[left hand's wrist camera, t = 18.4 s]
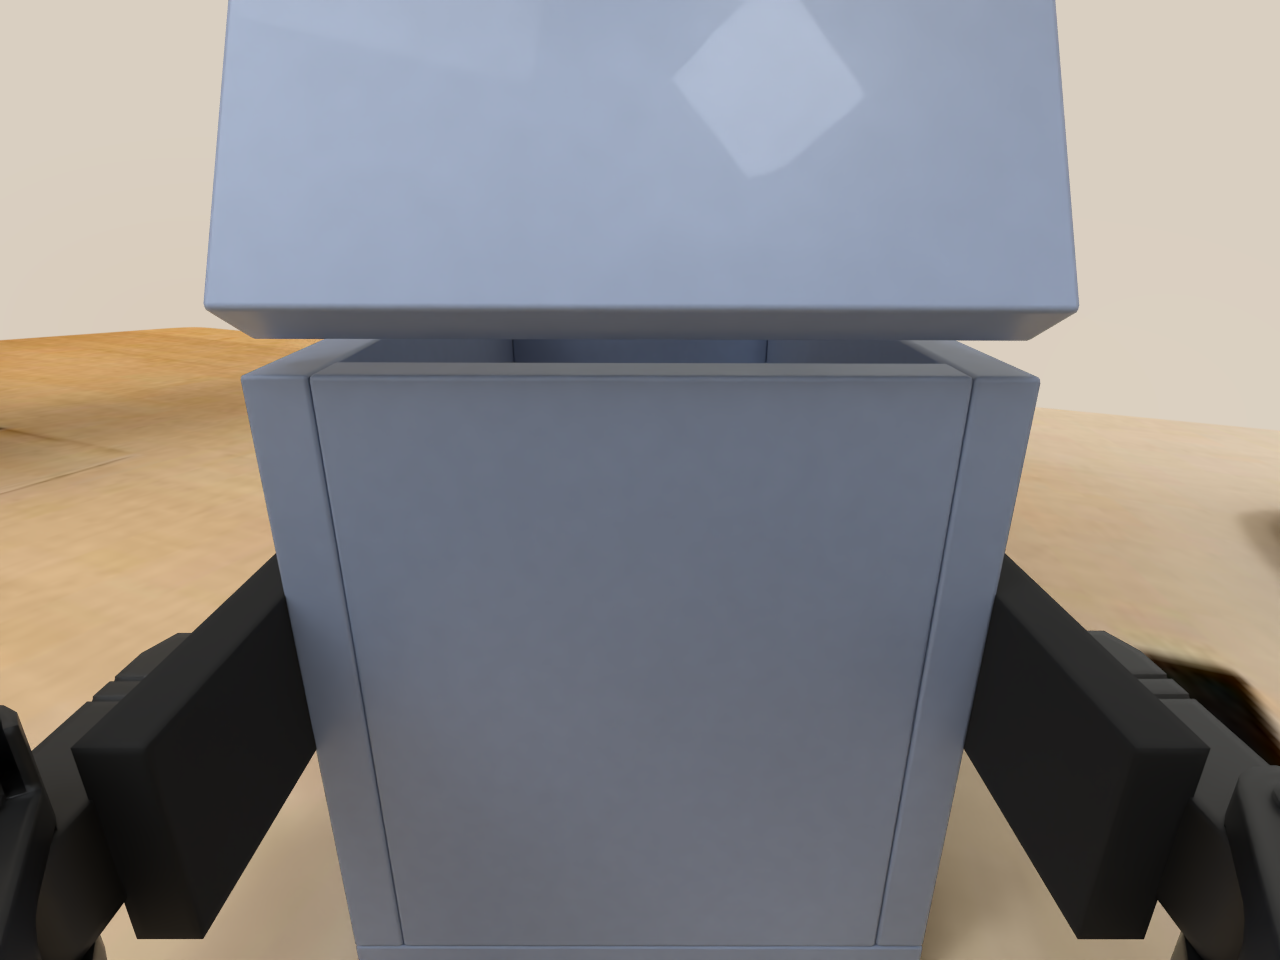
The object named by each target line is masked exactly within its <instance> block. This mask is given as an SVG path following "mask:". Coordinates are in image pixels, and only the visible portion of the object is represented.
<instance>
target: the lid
mask: <svg viewBox="0 0 1280 960" xmlns="http://www.w3.org/2000/svg"><path fill="white" fill-rule="evenodd" d="M204 306H205V309H206V310H207V311H209V312H211V313H212V314H214V315H215V316H217V317H219V318H220V319H222V320H224V321H225V322H227V323H229V324H230V325H232V326H234V327H235V328H237V329H239V330H240V331H242V332H244V333H245V334H247V335H249V336H250V337H252V338H255V339H596V340H1008V341H1027V340H1030V339H1032V338H1034V337H1035V336H1037V335H1039V334H1040V333H1042V332H1044V331H1045V330H1047V329H1049V328H1050V327H1052V326H1054V325H1056V324H1057V323H1059V322H1061V321H1062V320H1064V319H1066V318H1067V317H1069V316H1071V315H1072V314H1074V313H1076V312H1077V310H1078V307H1079V298H1078V286H1077V273H1076V260H1075V247H1074V235H1073V222H1072V209H1071V196H1070V184H1069V171H1068V158H1067V145H1066V132H1065V119H1064V107H1063V94H1062V81H1061V68H1060V56H1059V43H1058V30H1057V17H1056V4H1055V0H229V1H228V13H227V25H226V37H225V50H224V61H223V74H222V86H221V98H220V110H219V122H218V135H217V147H216V159H215V171H214V183H213V196H212V208H211V220H210V233H209V244H208V257H207V269H206V281H205V293H204Z"/></svg>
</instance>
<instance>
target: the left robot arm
mask: <svg viewBox="0 0 1280 960" xmlns="http://www.w3.org/2000/svg"><path fill="white" fill-rule="evenodd" d="M316 749H317V748H316V743H315V738H314V734H313V729H312V724H311V719H310V714H309V709H308V704H307V700H306V695H305V690H304V685H303V680H302V675H301V670H300V665H299V661H298V656H297V651H296V646H295V641H294V636H293V631H292V627H291V622H290V617H289V612H288V607H287V602H286V597H285V594H284V589H283V584H282V580H281V575H280V570H279V565H278V560H277V555H276V554H275V555H274V556H273V557H272V558H270V559H269V560H268V561H267V562H266V563H265V564H264V565H263V566H262V567H261V568H260V569H259V570H258V571H257V572H256V573H255V574H254V575H253V576H251V577H250V578H249V579H248V580H247V581H246V582H245V583H244V584H243V585H242V586H241V587H240V588H239V589H238V590H237V591H236V592H235V593H234V594H232V595H231V596H230V597H229V598H228V599H227V600H226V601H225V602H224V603H223V604H222V605H221V606H220V607H219V608H218V609H217V610H216V611H215V612H213V613H212V614H211V615H210V616H209V617H208V618H207V619H206V620H205V621H204V622H203V623H202V624H201V625H200V626H199V627H198V628H197V629H196V630H194V631H193V632H192V633H177V634H175V635H173V636H172V637H170V638H168V639H166V640H164V641H163V642H161V643H159V644H157V645H155V646H154V647H152V648H150V649H148V650H146V651H144V652H143V653H141V654H140V655H139V656H138V657H137V658H135V659H134V660H133V661H132V662H131V663H130V664H129V665H128V666H127V667H125V668H124V669H123V670H122V671H121V672H120V673H119V674H118V675H116V676H115V681H110V682H109V683H107V684H106V685H105V686H104V687H103V688H102V689H101V690H100V691H98V692H97V693H96V694H95V695H94V696H93V700H92V702H86V703H85V704H84V705H83V706H82V707H81V708H79V709H78V710H77V711H76V712H75V713H74V714H73V715H72V716H70V717H69V718H68V719H67V720H66V721H65V722H64V723H63V724H62V725H60V726H59V727H58V728H57V729H56V730H55V731H54V732H53V733H51V734H50V735H49V736H48V737H47V738H46V739H45V740H44V741H42V742H41V743H40V744H39V745H38V746H37V747H36V748H35V749H33V750H32V751H31V749H30V746H29V743H28V741H27V738H26V735H25V733H24V730H23V727H22V725H21V722H20V719H19V717H18V714H17V712H15V711H13V710H11V709H10V708H8V707H6V706H4V705H0V960H107V957H106V951H105V946H104V944H103V941H102V938H101V936H100V934H101V933H102V931H103V930H104V929H105V927H106V926H107V925H108V923H109V922H110V921H111V919H112V918H113V917H114V915H115V914H116V912H117V911H118V910H119V908H120V907H121V906H122V904H123V903H125V906H126V909H127V912H128V914H129V917H130V920H131V923H132V926H133V929H134V932H135V934H136V937H137V939H203V938H204V937H205V935H206V933H207V932H208V930H209V928H210V927H211V925H212V923H213V922H214V920H215V918H216V917H217V915H218V913H219V912H220V910H221V908H222V907H223V905H224V903H225V901H226V900H227V898H228V896H229V895H230V893H231V891H232V890H233V888H234V886H235V885H236V883H237V881H238V880H239V878H240V876H241V875H242V873H243V871H244V870H245V868H246V866H247V865H248V863H249V861H250V860H251V858H252V856H253V855H254V853H255V851H256V850H257V848H258V846H259V845H260V843H261V841H262V840H263V838H264V836H265V835H266V833H267V831H268V830H269V828H270V826H271V825H272V823H273V821H274V820H275V818H276V816H277V814H278V813H279V811H280V809H281V808H282V806H283V804H284V803H285V801H286V799H287V798H288V796H289V794H290V793H291V791H292V789H293V788H294V786H295V784H296V783H297V781H298V779H299V778H300V776H301V774H302V773H303V771H304V769H305V768H306V766H307V764H308V763H309V761H310V759H311V758H312V756H313V754H314V753H315V751H316ZM964 750H965V751H966V753H967V755H968V756H969V758H970V760H971V761H972V763H973V765H974V766H975V768H976V770H977V771H978V773H979V775H980V776H981V778H982V780H983V781H984V783H985V785H986V786H987V788H988V790H989V791H990V793H991V795H992V796H993V798H994V800H995V801H996V803H997V805H998V806H999V808H1000V810H1001V812H1002V813H1003V815H1004V817H1005V818H1006V820H1007V822H1008V823H1009V825H1010V827H1011V828H1012V830H1013V832H1014V833H1015V835H1016V837H1017V838H1018V840H1019V842H1020V843H1021V845H1022V847H1023V848H1024V850H1025V852H1026V853H1027V855H1028V857H1029V858H1030V860H1031V862H1032V863H1033V865H1034V867H1035V868H1036V870H1037V872H1038V873H1039V875H1040V877H1041V878H1042V880H1043V882H1044V883H1045V885H1046V887H1047V888H1048V890H1049V892H1050V893H1051V895H1052V897H1053V898H1054V900H1055V902H1056V903H1057V905H1058V907H1059V909H1060V910H1061V912H1062V914H1063V915H1064V917H1065V919H1066V920H1067V922H1068V924H1069V925H1070V927H1071V929H1072V930H1073V932H1074V934H1075V935H1076V937H1077V939H1144V937H1145V934H1146V932H1147V929H1148V926H1149V923H1150V920H1151V917H1152V914H1153V912H1154V909H1155V906H1156V903H1157V900H1158V901H1159V902H1160V903H1161V905H1162V906H1163V907H1164V909H1165V910H1166V911H1167V913H1168V914H1169V915H1170V917H1171V918H1172V919H1173V921H1174V922H1175V923H1176V925H1177V926H1178V927H1179V929H1180V930H1181V933H1180V936H1179V938H1178V941H1177V944H1176V946H1175V949H1174V952H1173V954H1172V957H1171V960H1280V766H1275V765H1273V766H1270V765H1269V764H1267V763H1266V762H1265V761H1264V760H1263V759H1262V758H1261V757H1260V756H1258V755H1257V754H1256V753H1255V752H1254V751H1253V750H1252V749H1251V748H1249V747H1248V746H1247V745H1246V744H1245V743H1244V742H1243V741H1241V740H1240V739H1239V738H1238V737H1237V736H1236V735H1235V734H1234V733H1232V732H1231V731H1230V730H1229V729H1228V728H1227V727H1226V726H1225V725H1223V724H1222V723H1221V722H1220V721H1219V720H1218V719H1217V718H1216V717H1214V716H1213V715H1212V714H1211V713H1210V712H1209V711H1208V710H1206V709H1205V708H1204V707H1203V706H1202V705H1201V704H1200V703H1199V702H1197V701H1196V700H1195V699H1190V698H1189V694H1188V693H1187V692H1186V691H1185V690H1184V689H1183V688H1182V687H1181V686H1179V685H1178V684H1177V683H1176V682H1175V681H1174V680H1173V679H1167V674H1166V673H1165V672H1164V671H1162V670H1161V669H1160V668H1159V667H1158V666H1157V665H1156V664H1155V663H1153V662H1152V661H1151V660H1150V659H1149V658H1148V657H1147V656H1146V655H1144V654H1143V653H1142V652H1141V651H1140V650H1138V649H1136V648H1134V647H1132V646H1130V645H1129V644H1127V643H1125V642H1123V641H1121V640H1120V639H1118V638H1116V637H1114V636H1112V635H1110V634H1109V633H1107V632H1105V631H1086V630H1085V629H1084V628H1083V627H1082V626H1081V625H1080V624H1079V623H1078V622H1077V621H1076V620H1075V619H1074V618H1073V617H1072V616H1071V615H1070V614H1068V613H1067V612H1066V611H1065V610H1064V609H1063V608H1062V607H1061V606H1060V605H1059V604H1058V603H1057V602H1056V601H1055V600H1054V599H1053V598H1052V597H1051V596H1049V595H1048V594H1047V593H1046V592H1045V591H1044V590H1043V589H1042V588H1041V587H1040V586H1039V585H1038V584H1037V583H1036V582H1035V581H1034V580H1033V579H1031V578H1030V577H1029V576H1028V575H1027V574H1026V573H1025V572H1024V571H1023V570H1022V569H1021V568H1020V567H1019V566H1018V565H1017V564H1016V563H1015V562H1014V561H1012V560H1011V559H1010V558H1009V557H1008V556H1007V555H1006V554H1004V558H1003V563H1002V568H1001V573H1000V577H999V582H998V587H997V592H996V595H995V599H994V604H993V609H992V614H991V619H990V624H989V628H988V633H987V638H986V643H985V648H984V652H983V657H982V662H981V667H980V672H979V677H978V681H977V686H976V691H975V696H974V701H973V706H972V710H971V715H970V720H969V725H968V730H967V734H966V739H965V744H964Z"/></svg>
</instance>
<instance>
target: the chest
mask: <svg viewBox="0 0 1280 960" xmlns="http://www.w3.org/2000/svg"><path fill="white" fill-rule="evenodd" d="M241 383H242V388H243V393H244V398H245V403H246V408H247V413H248V418H249V422H250V427H251V432H252V437H253V442H254V447H255V452H256V457H257V462H258V467H259V472H260V476H261V481H262V486H263V491H264V496H265V501H266V506H267V511H268V516H269V521H270V526H271V530H272V535H273V540H274V545H275V550H276V555H277V560H278V565H279V570H280V575H281V580H282V584H283V589H284V594H285V597H286V602H287V607H288V612H289V617H290V622H291V627H292V631H293V636H294V641H295V646H296V651H297V656H298V661H299V665H300V670H301V675H302V680H303V685H304V690H305V695H306V700H307V704H308V709H309V714H310V719H311V724H312V729H313V734H314V738H315V743H316V748H317V749H316V751H317V756H318V761H319V766H320V771H321V776H322V781H323V786H324V791H325V796H326V801H327V805H328V810H329V815H330V820H331V825H332V830H333V835H334V840H335V845H336V850H337V855H338V859H339V864H340V869H341V874H342V879H343V884H344V889H345V894H346V899H347V904H348V909H349V913H350V918H351V923H352V928H353V933H354V938H355V943H356V945H357V953H358V958H359V960H920V957H921V952H922V944H923V940H924V935H925V930H926V926H927V921H928V916H929V911H930V907H931V902H932V897H933V892H934V887H935V883H936V878H937V873H938V868H939V864H940V859H941V854H942V849H943V845H944V840H945V835H946V830H947V825H948V821H949V816H950V811H951V806H952V802H953V797H954V792H955V787H956V783H957V778H958V773H959V768H960V763H961V759H962V754H963V749H964V744H965V739H966V734H967V730H968V725H969V720H970V715H971V710H972V706H973V701H974V696H975V691H976V686H977V681H978V677H979V672H980V667H981V662H982V657H983V652H984V648H985V643H986V638H987V633H988V628H989V624H990V619H991V614H992V609H993V604H994V599H995V595H996V592H997V587H998V582H999V577H1000V573H1001V568H1002V563H1003V558H1004V554H1005V549H1006V544H1007V539H1008V535H1009V530H1010V525H1011V520H1012V515H1013V511H1014V506H1015V501H1016V496H1017V492H1018V487H1019V482H1020V477H1021V473H1022V468H1023V463H1024V458H1025V453H1026V449H1027V444H1028V439H1029V434H1030V430H1031V425H1032V420H1033V415H1034V411H1035V406H1036V401H1037V396H1038V391H1039V387H1040V379H1039V378H1038V377H1036V376H1034V375H1032V374H1029V373H1027V372H1025V371H1023V370H1020V369H1018V368H1016V367H1014V366H1011V365H1009V364H1007V363H1005V362H1002V361H1000V360H998V359H996V358H993V357H991V356H989V355H987V354H984V353H982V352H980V351H978V350H975V349H973V348H971V347H969V346H967V345H964V344H962V343H960V342H958V341H955V340H596V339H324V340H322V341H319V342H317V343H315V344H313V345H310V346H308V347H306V348H303V349H301V350H299V351H297V352H294V353H292V354H290V355H288V356H285V357H283V358H281V359H279V360H276V361H274V362H272V363H270V364H267V365H265V366H263V367H261V368H258V369H256V370H254V371H252V372H249V373H247V374H245V375H242V377H241Z"/></svg>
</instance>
